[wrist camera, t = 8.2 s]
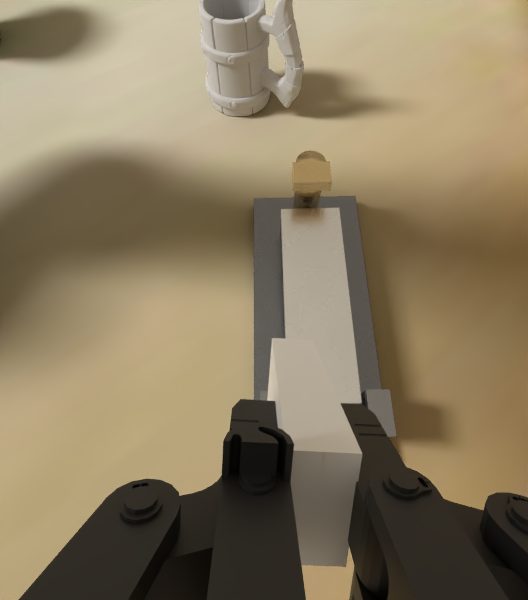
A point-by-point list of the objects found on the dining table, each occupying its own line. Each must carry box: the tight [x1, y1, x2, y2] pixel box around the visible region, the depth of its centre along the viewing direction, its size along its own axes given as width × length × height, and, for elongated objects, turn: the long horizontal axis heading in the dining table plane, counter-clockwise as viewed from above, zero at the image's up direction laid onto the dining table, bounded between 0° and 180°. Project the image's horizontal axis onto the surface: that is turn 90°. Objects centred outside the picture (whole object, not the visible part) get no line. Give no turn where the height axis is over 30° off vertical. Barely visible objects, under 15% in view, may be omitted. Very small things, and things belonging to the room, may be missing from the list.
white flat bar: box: [281, 208, 362, 404], centre depth 29 cm, size 18×5×2 cm, turn 1°
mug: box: [198, 0, 304, 116], centre depth 38 cm, size 8×12×12 cm, turn 60°
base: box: [254, 151, 396, 438], centre depth 30 cm, size 24×10×7 cm, turn 1°
